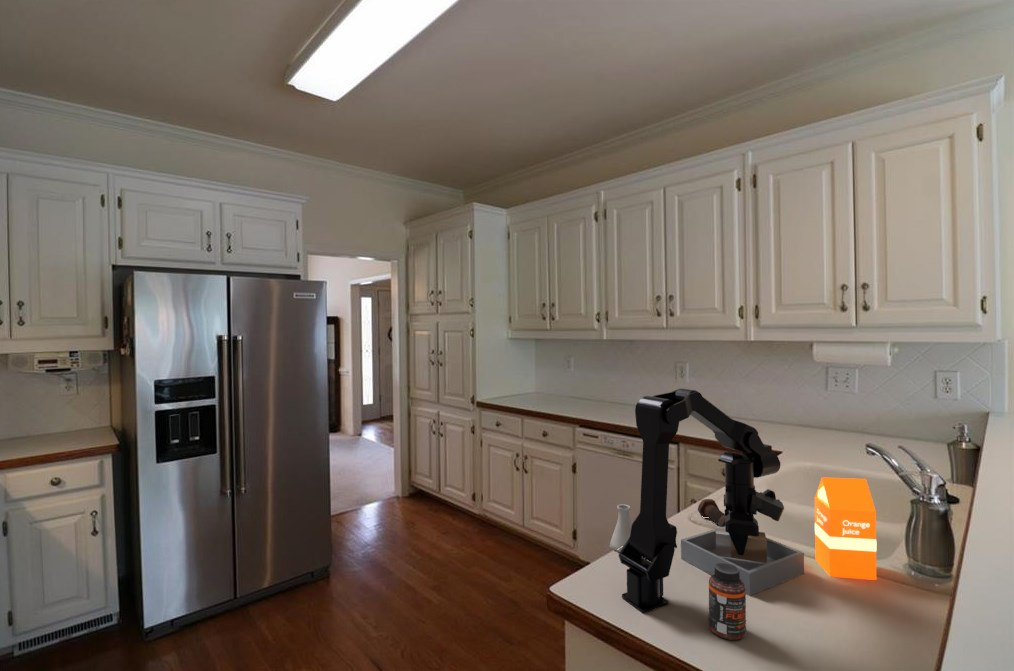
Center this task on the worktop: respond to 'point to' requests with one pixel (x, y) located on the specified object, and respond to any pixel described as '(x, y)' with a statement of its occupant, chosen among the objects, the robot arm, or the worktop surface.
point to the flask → (621, 528)
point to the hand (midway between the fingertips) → (740, 550)
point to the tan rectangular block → (753, 549)
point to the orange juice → (845, 528)
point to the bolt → (711, 511)
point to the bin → (745, 562)
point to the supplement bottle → (727, 602)
